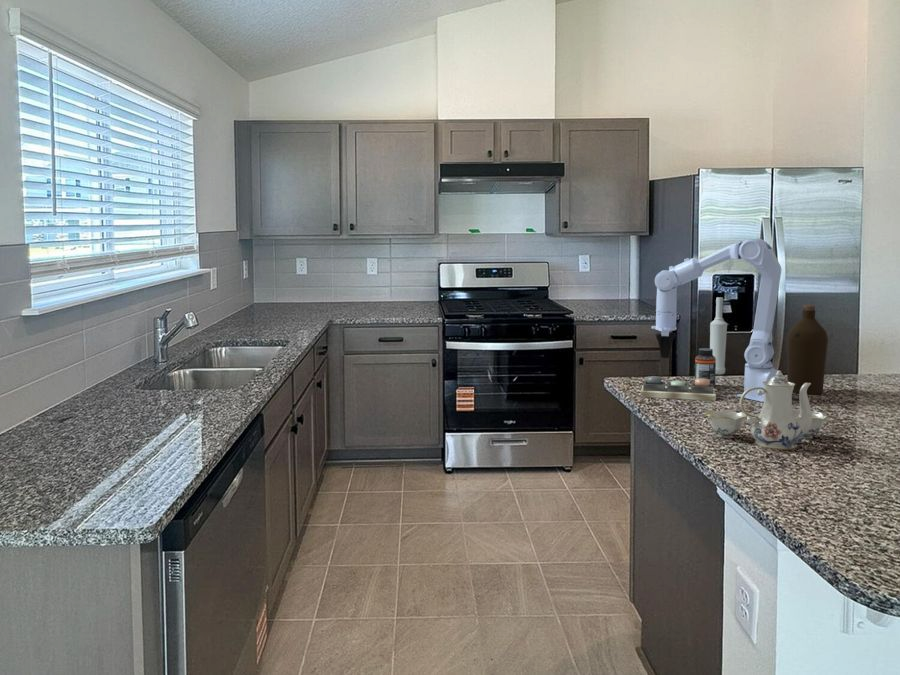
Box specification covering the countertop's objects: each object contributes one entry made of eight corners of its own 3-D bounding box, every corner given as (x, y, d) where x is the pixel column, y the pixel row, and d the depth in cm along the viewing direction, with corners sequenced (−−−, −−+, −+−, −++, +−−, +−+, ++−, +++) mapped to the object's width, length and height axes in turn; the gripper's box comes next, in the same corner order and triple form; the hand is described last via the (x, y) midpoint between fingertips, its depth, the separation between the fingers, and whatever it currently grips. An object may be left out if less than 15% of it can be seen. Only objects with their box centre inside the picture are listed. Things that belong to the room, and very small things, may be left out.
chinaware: (814, 438, 178) (814, 366, 178) (855, 450, 161) (855, 370, 161) (695, 440, 177) (694, 367, 177) (723, 452, 160) (723, 372, 160)
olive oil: (824, 396, 216) (829, 307, 213) (783, 393, 221) (787, 306, 218) (825, 390, 225) (830, 304, 222) (785, 387, 230) (789, 303, 227)
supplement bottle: (698, 383, 237) (700, 347, 235) (718, 385, 233) (719, 348, 232) (691, 386, 232) (692, 349, 231) (710, 388, 228) (712, 350, 227)
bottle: (713, 371, 258) (715, 296, 255) (728, 373, 255) (730, 297, 252) (705, 373, 255) (708, 297, 252) (720, 375, 251) (723, 298, 248)
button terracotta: (709, 385, 218) (709, 378, 218) (709, 388, 214) (710, 381, 214) (694, 384, 219) (694, 377, 219) (694, 387, 215) (694, 380, 215)
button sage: (685, 388, 220) (685, 381, 220) (685, 390, 216) (685, 383, 216) (670, 387, 221) (670, 380, 221) (670, 389, 217) (670, 382, 217)
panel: (714, 393, 221) (714, 382, 220) (715, 400, 211) (716, 388, 211) (642, 390, 226) (642, 379, 226) (640, 397, 217) (640, 385, 217)
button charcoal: (661, 383, 222) (661, 376, 221) (661, 385, 218) (661, 378, 218) (647, 382, 223) (647, 375, 223) (646, 385, 219) (646, 378, 219)
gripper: (653, 309, 233) (651, 353, 235) (651, 313, 220) (649, 360, 221) (677, 309, 231) (676, 354, 233) (676, 314, 218) (675, 361, 219)
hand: (664, 357), depth 227 cm, fingers closed
